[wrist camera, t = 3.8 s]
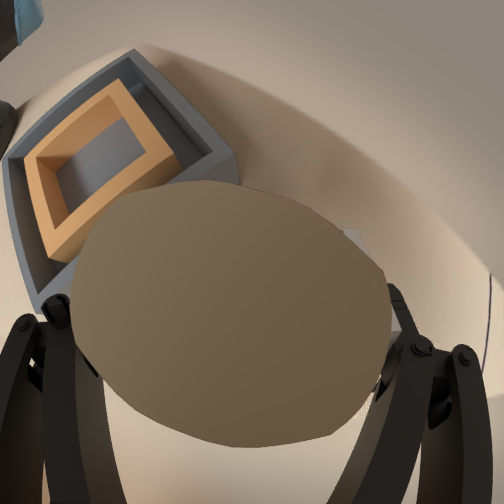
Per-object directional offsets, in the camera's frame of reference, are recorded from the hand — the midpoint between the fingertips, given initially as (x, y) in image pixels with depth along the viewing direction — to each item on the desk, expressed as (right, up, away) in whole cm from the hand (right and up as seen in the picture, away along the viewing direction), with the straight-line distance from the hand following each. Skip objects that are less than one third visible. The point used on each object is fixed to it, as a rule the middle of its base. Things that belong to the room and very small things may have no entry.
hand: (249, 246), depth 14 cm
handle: (0, -4, +6) cm, 7 cm away
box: (-13, +7, +8) cm, 17 cm away
